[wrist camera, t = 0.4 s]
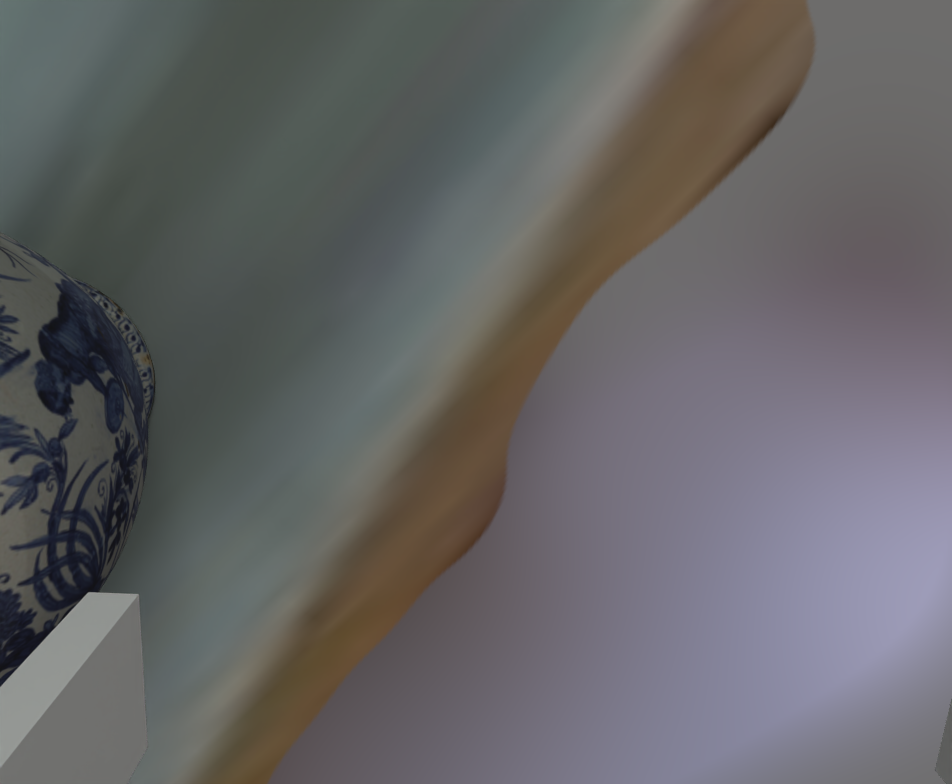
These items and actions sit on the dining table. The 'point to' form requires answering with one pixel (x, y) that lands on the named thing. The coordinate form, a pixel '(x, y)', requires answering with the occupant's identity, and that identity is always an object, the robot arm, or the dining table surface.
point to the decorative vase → (63, 444)
